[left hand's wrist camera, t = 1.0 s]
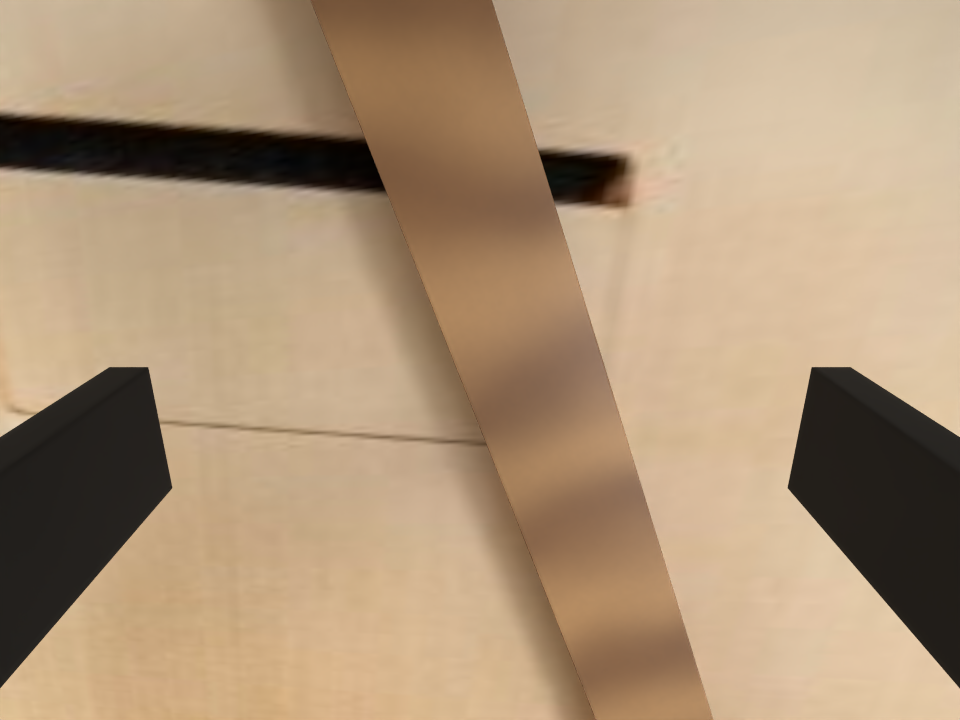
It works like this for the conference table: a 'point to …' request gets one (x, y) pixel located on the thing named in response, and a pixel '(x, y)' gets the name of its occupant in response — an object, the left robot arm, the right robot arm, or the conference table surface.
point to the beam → (518, 334)
